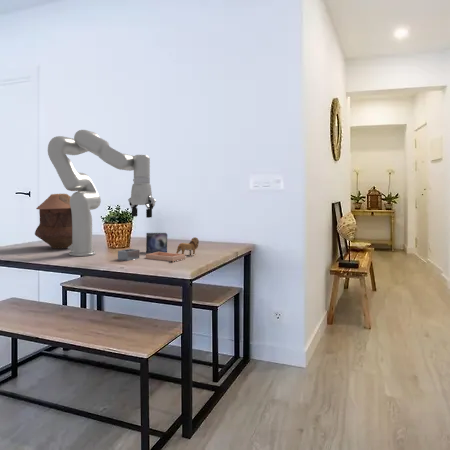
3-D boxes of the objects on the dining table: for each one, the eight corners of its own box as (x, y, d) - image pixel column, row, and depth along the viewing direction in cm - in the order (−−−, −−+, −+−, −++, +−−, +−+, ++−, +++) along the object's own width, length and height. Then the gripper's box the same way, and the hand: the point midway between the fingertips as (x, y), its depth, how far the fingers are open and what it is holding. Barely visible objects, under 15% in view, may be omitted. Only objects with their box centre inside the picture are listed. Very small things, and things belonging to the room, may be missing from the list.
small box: (146, 254, 209) (146, 234, 208) (145, 252, 215) (145, 232, 214) (167, 253, 212) (167, 233, 211) (165, 251, 218) (166, 232, 217)
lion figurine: (194, 253, 214) (194, 236, 213) (201, 254, 210) (201, 237, 209) (172, 256, 203) (172, 238, 202) (179, 257, 199) (179, 239, 199)
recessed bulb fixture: (117, 259, 187) (117, 251, 187) (129, 257, 195) (129, 248, 195) (127, 260, 185) (127, 252, 185) (139, 258, 193) (139, 249, 192)
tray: (145, 259, 193) (145, 254, 193) (158, 256, 202) (158, 251, 202) (172, 262, 186) (173, 257, 186) (184, 259, 196) (184, 254, 195)
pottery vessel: (93, 245, 237) (92, 193, 234) (72, 251, 212) (71, 194, 209) (50, 244, 239) (50, 193, 237) (25, 250, 214) (24, 193, 212)
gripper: (123, 180, 195) (123, 216, 197) (149, 180, 186) (149, 218, 187) (134, 181, 201) (134, 215, 203) (160, 181, 192) (160, 217, 193)
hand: (141, 216), depth 195 cm, fingers open, 9 cm apart
